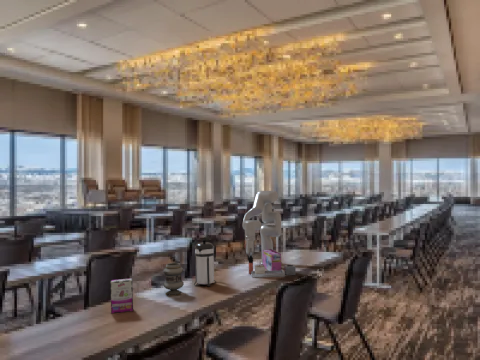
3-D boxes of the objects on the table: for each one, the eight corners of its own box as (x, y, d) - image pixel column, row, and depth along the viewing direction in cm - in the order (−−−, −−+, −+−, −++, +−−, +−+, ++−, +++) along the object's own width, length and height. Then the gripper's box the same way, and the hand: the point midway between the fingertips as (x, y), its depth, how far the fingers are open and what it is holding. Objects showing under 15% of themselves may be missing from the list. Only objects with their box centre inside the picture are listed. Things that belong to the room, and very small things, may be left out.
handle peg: (248, 273, 290) (248, 259, 290) (253, 273, 290) (252, 259, 290) (248, 274, 287) (248, 260, 287) (253, 274, 287) (253, 260, 287)
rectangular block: (251, 274, 287) (251, 270, 287) (282, 273, 288) (282, 269, 288) (252, 277, 277) (252, 273, 277) (285, 276, 278) (284, 272, 278)
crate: (255, 274, 285) (254, 265, 285) (264, 274, 285) (263, 264, 285) (255, 276, 278) (255, 266, 278) (265, 276, 279) (264, 266, 279)
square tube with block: (283, 271, 294) (283, 263, 294) (292, 271, 294) (292, 263, 294) (285, 275, 282) (285, 266, 282) (295, 274, 282) (295, 266, 282)
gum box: (261, 266, 314) (261, 249, 314) (271, 265, 316) (270, 248, 316) (271, 272, 291) (271, 254, 291) (281, 271, 293) (281, 253, 293)
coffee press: (220, 285, 256) (220, 239, 257) (197, 288, 250) (196, 241, 251) (212, 279, 272) (212, 236, 273) (190, 282, 267) (189, 237, 267)
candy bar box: (133, 308, 212) (132, 277, 212) (133, 311, 207) (132, 280, 207) (111, 310, 209) (110, 279, 209) (110, 313, 204) (110, 281, 204)
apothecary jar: (159, 295, 237) (159, 265, 237) (171, 290, 248) (170, 261, 248) (176, 297, 232) (176, 266, 232) (187, 292, 243) (187, 262, 243)
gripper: (244, 236, 297) (244, 259, 297) (245, 239, 280) (245, 263, 279) (254, 236, 298) (254, 259, 297) (256, 239, 280) (256, 263, 280)
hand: (250, 261), depth 288 cm, fingers open, 9 cm apart
